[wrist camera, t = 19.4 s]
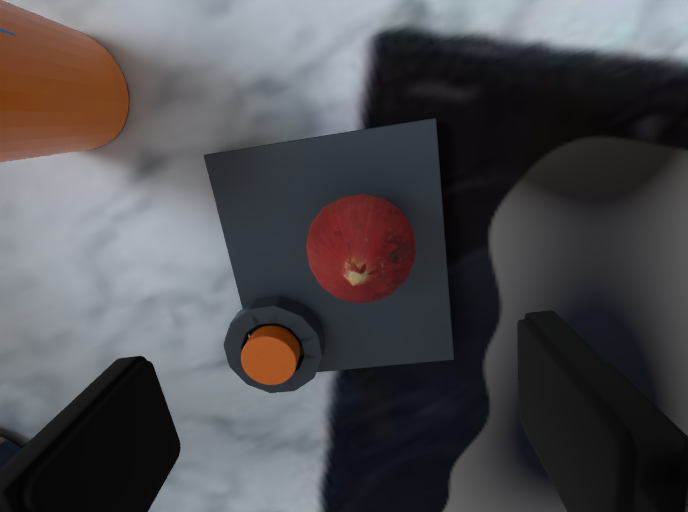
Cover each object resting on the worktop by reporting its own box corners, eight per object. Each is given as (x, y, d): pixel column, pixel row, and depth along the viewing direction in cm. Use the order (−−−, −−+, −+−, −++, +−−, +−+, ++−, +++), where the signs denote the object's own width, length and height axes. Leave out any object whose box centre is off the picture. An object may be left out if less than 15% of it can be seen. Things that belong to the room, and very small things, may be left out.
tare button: (254, 373, 27) (247, 387, 25) (242, 327, 26) (234, 339, 24) (304, 368, 26) (301, 383, 25) (295, 321, 25) (290, 333, 24)
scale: (251, 366, 30) (237, 396, 27) (197, 156, 25) (171, 160, 22) (449, 348, 29) (459, 377, 25) (431, 118, 24) (441, 117, 20)
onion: (405, 179, 23) (421, 204, 16) (412, 269, 25) (430, 330, 17) (309, 191, 24) (281, 220, 16) (323, 278, 26) (303, 341, 18)
